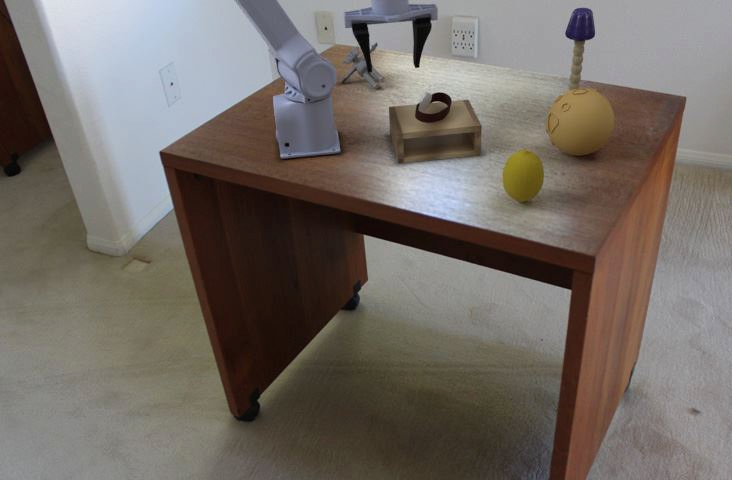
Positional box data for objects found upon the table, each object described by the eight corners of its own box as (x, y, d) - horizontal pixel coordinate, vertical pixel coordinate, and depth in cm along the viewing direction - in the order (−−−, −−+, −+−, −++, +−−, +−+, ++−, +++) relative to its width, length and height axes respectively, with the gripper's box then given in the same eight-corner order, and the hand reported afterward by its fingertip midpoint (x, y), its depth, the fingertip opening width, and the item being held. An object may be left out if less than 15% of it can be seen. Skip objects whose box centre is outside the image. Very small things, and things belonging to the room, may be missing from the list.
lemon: (537, 191, 106) (541, 139, 101) (545, 211, 102) (550, 158, 97) (498, 193, 106) (500, 141, 101) (504, 213, 102) (507, 160, 97)
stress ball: (616, 143, 117) (625, 81, 110) (600, 171, 110) (610, 107, 104) (553, 133, 120) (559, 73, 114) (535, 160, 113) (540, 97, 107)
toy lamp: (591, 112, 126) (604, 11, 116) (567, 118, 125) (578, 16, 114) (575, 102, 129) (586, 3, 119) (552, 107, 128) (561, 8, 118)
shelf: (397, 163, 115) (396, 133, 112) (390, 135, 123) (388, 106, 120) (480, 155, 116) (481, 125, 113) (468, 128, 124) (468, 99, 121)
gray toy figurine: (354, 98, 136) (326, 69, 140) (368, 110, 142) (340, 82, 145) (392, 56, 134) (363, 28, 138) (405, 70, 140) (376, 43, 143)
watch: (433, 103, 120) (433, 82, 118) (459, 109, 118) (459, 87, 115) (407, 121, 115) (406, 99, 113) (433, 128, 113) (433, 105, 110)
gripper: (342, -9, 109) (350, 81, 118) (440, -18, 110) (441, 72, 118) (339, -22, 115) (347, 65, 123) (433, -30, 116) (434, 57, 124)
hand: (393, 67), depth 121 cm, fingers open, 7 cm apart
